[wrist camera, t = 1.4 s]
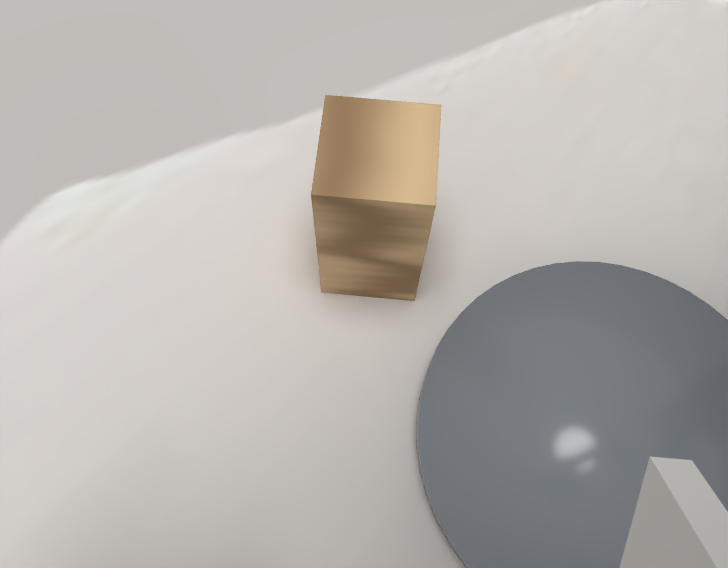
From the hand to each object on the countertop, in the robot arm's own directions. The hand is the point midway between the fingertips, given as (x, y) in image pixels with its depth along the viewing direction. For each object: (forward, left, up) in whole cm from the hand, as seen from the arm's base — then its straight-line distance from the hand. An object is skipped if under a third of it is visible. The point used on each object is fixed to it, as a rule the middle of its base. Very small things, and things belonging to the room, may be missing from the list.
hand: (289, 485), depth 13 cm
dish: (-13, -6, -20) cm, 24 cm away
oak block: (-1, -15, -20) cm, 25 cm away
